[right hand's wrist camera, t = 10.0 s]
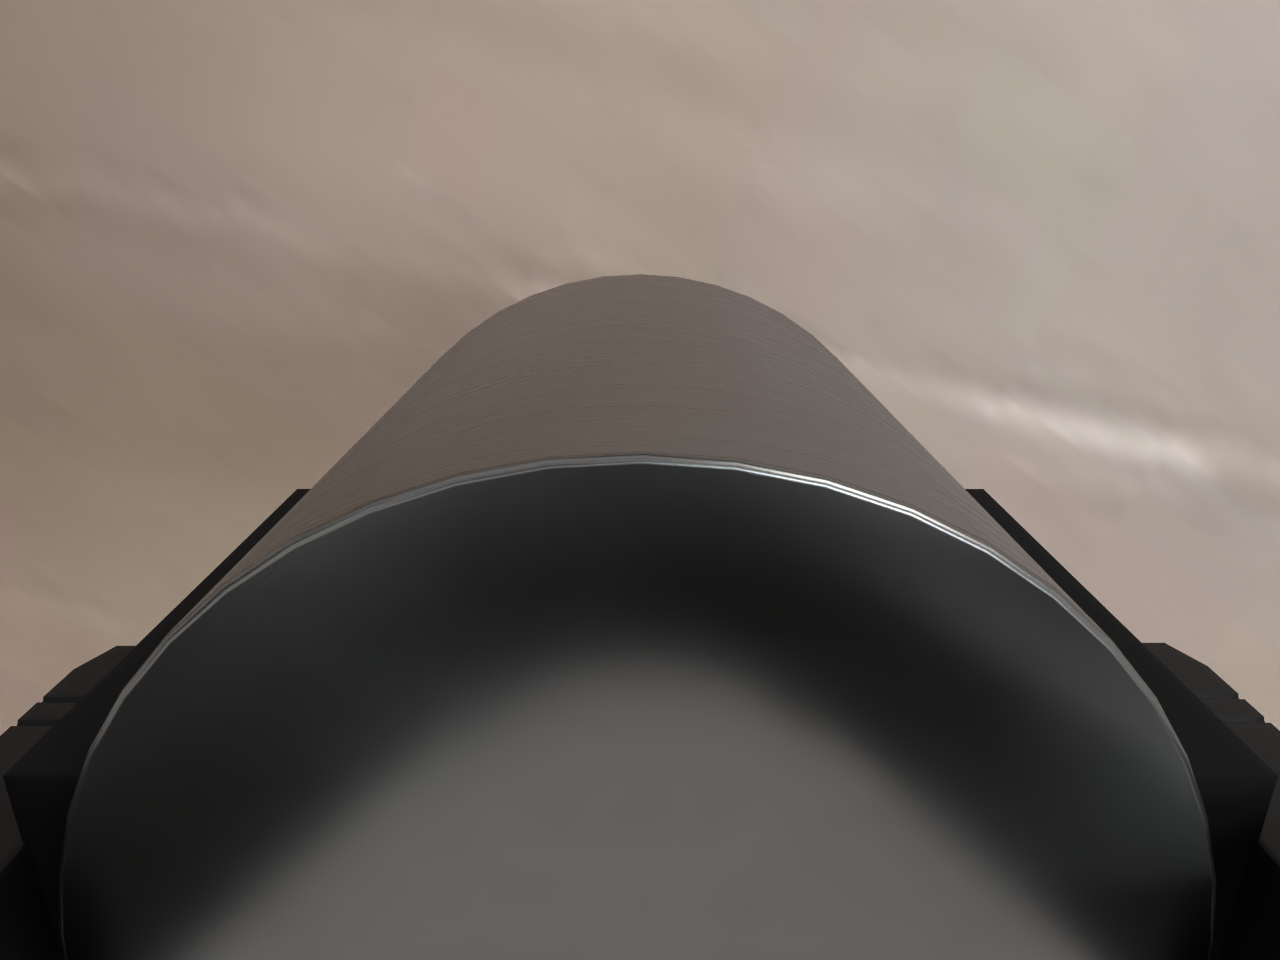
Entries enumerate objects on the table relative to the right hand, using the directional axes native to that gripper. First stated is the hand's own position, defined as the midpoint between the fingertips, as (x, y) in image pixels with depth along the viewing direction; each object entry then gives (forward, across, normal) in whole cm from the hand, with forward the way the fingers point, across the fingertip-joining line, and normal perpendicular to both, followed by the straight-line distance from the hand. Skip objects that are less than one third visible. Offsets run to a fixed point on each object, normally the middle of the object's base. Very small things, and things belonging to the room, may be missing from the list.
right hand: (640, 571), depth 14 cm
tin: (+1, 0, 0) cm, 1 cm away
